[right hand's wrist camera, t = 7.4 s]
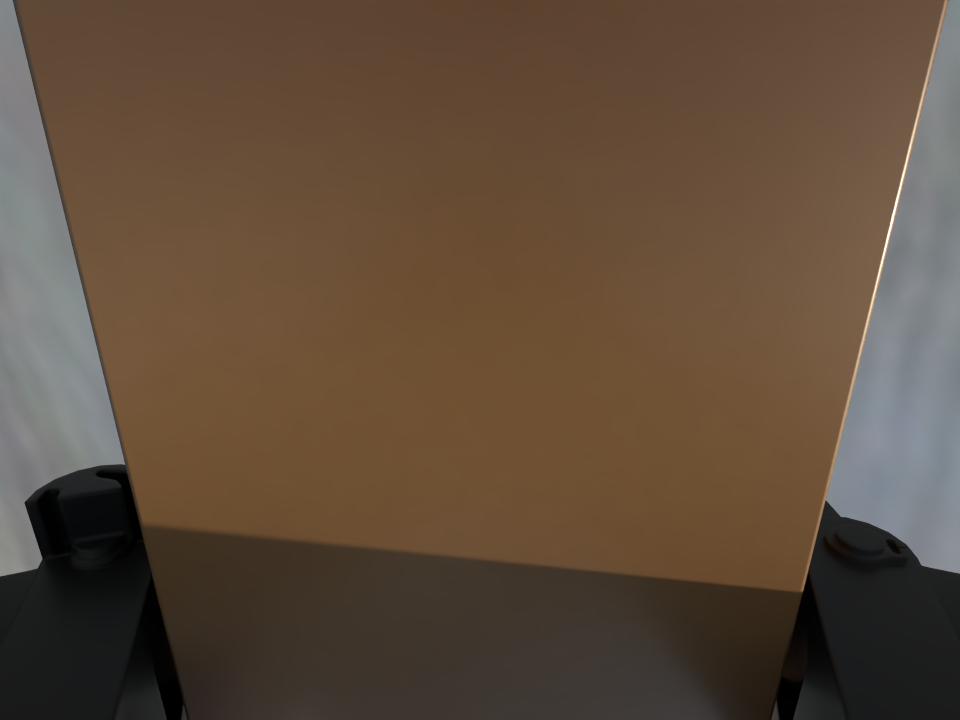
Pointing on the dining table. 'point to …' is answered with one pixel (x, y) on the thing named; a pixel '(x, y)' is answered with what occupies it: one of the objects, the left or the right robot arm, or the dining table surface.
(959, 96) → the dining table surface
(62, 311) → the dining table surface
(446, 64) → the box
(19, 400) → the dining table surface
